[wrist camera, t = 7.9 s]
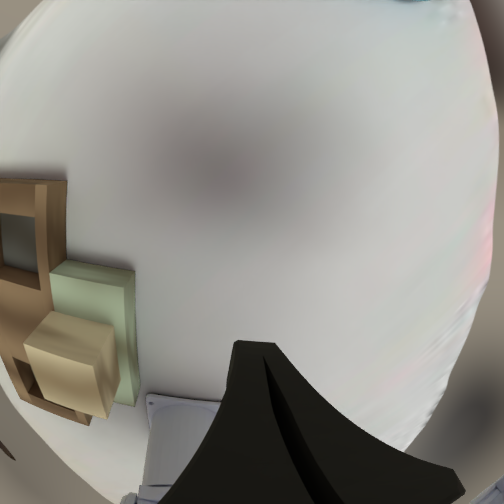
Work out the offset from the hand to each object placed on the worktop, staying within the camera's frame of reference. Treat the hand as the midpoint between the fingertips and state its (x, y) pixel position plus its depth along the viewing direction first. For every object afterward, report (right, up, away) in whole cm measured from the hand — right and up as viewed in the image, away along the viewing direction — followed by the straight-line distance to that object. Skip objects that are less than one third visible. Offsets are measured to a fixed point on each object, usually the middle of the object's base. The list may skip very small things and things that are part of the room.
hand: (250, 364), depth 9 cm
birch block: (-12, -3, +7) cm, 14 cm away
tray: (-16, -2, +9) cm, 18 cm away
